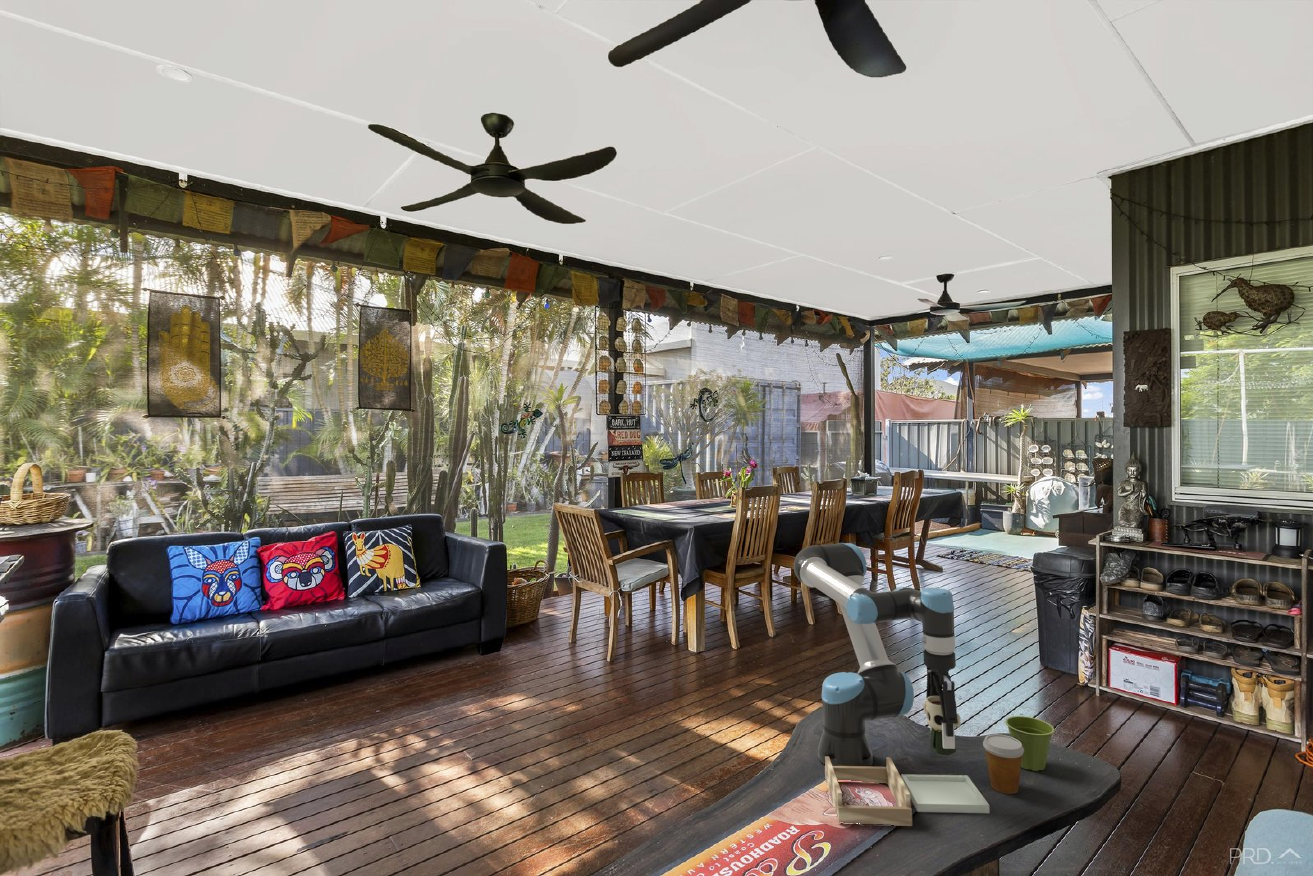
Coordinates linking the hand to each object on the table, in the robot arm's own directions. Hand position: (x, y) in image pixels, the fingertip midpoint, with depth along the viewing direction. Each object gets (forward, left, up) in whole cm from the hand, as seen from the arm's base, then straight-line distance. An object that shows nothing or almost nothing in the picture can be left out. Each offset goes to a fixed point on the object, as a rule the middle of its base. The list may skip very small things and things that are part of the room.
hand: (942, 739), depth 167 cm
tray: (0, 0, -15) cm, 15 cm away
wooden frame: (+3, -20, -15) cm, 25 cm away
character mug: (0, 0, -3) cm, 3 cm away
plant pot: (-17, +29, -15) cm, 37 cm away
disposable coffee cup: (-5, +17, -15) cm, 23 cm away
